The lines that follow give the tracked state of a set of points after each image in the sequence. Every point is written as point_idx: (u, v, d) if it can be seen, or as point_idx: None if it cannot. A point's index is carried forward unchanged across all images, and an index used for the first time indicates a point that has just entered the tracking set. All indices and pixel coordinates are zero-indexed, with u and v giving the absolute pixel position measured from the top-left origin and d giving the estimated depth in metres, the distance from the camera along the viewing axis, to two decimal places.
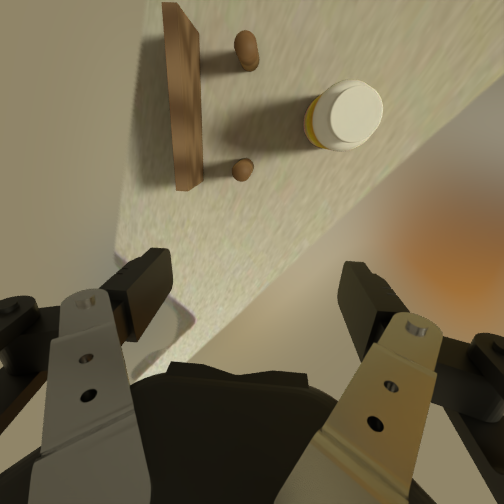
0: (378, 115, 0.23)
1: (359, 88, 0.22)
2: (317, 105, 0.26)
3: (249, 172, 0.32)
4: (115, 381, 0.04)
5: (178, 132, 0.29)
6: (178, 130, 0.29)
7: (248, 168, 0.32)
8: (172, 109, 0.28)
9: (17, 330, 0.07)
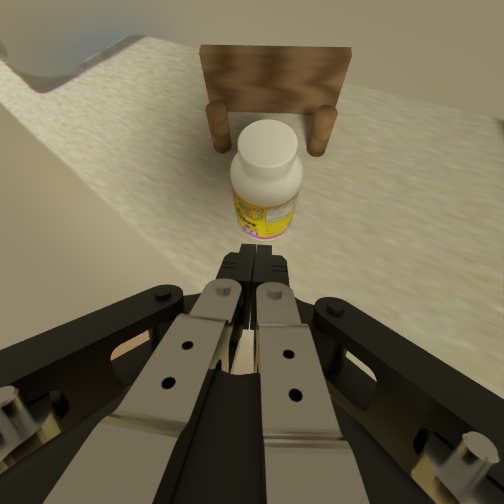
0: (266, 162, 0.19)
1: (293, 140, 0.19)
2: None
3: (214, 115, 0.29)
4: (191, 383, 0.04)
5: (255, 50, 0.30)
6: (257, 50, 0.30)
7: (218, 114, 0.29)
8: (274, 47, 0.30)
9: (177, 314, 0.07)
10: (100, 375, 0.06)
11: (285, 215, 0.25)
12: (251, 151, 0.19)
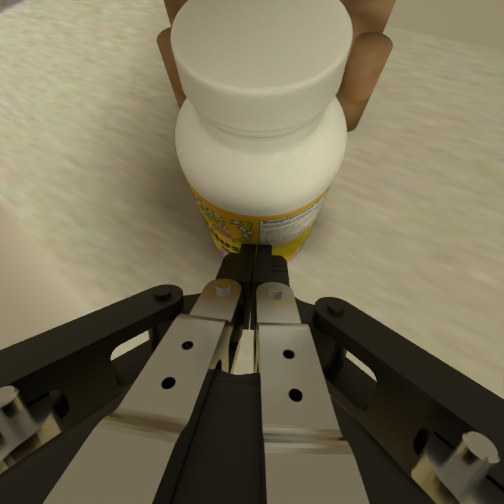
0: (256, 80, 0.06)
1: (340, 20, 0.06)
2: None
3: (171, 48, 0.16)
4: (191, 383, 0.05)
5: None
6: None
7: None
8: None
9: (177, 314, 0.07)
10: (100, 375, 0.06)
11: (299, 233, 0.12)
12: (209, 49, 0.06)
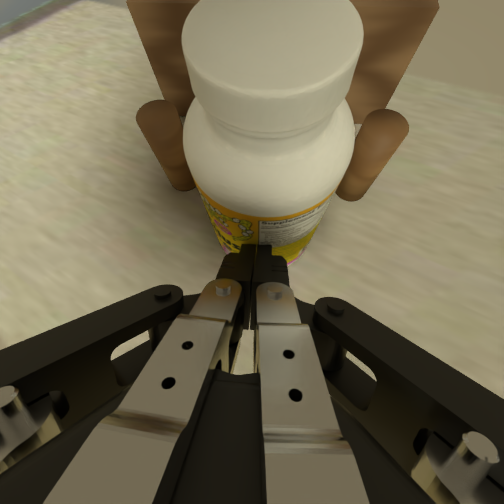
0: (259, 81, 0.06)
1: (352, 27, 0.06)
2: None
3: (152, 129, 0.14)
4: (191, 383, 0.05)
5: None
6: None
7: (161, 127, 0.14)
8: None
9: (177, 314, 0.07)
10: (100, 375, 0.06)
11: (299, 236, 0.12)
12: (218, 48, 0.06)
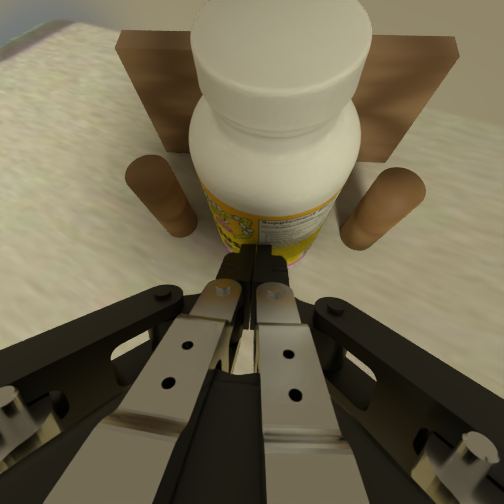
0: (263, 79, 0.06)
1: (360, 29, 0.06)
2: None
3: (142, 190, 0.13)
4: (191, 383, 0.05)
5: None
6: None
7: (152, 188, 0.13)
8: None
9: (177, 314, 0.07)
10: (100, 375, 0.06)
11: (300, 238, 0.12)
12: (225, 44, 0.06)
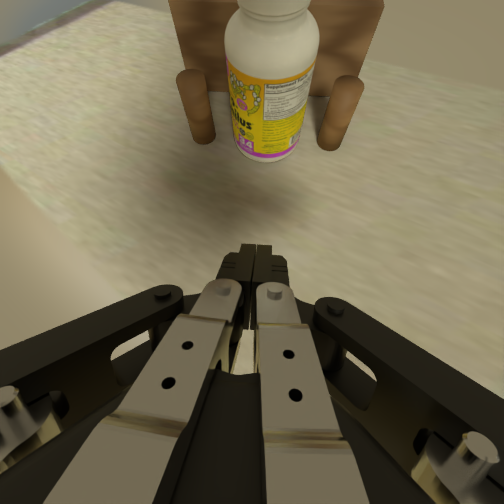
0: None
1: None
2: None
3: (188, 87, 0.20)
4: (191, 383, 0.05)
5: None
6: None
7: (194, 86, 0.20)
8: None
9: (177, 315, 0.07)
10: (100, 375, 0.06)
11: (288, 112, 0.20)
12: None
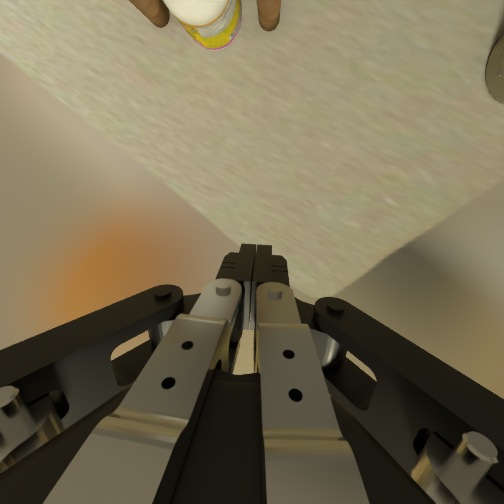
0: None
1: None
2: None
3: (136, 2, 0.25)
4: (191, 383, 0.05)
5: None
6: None
7: (141, 0, 0.25)
8: None
9: (177, 314, 0.07)
10: (100, 375, 0.06)
11: (220, 31, 0.25)
12: None
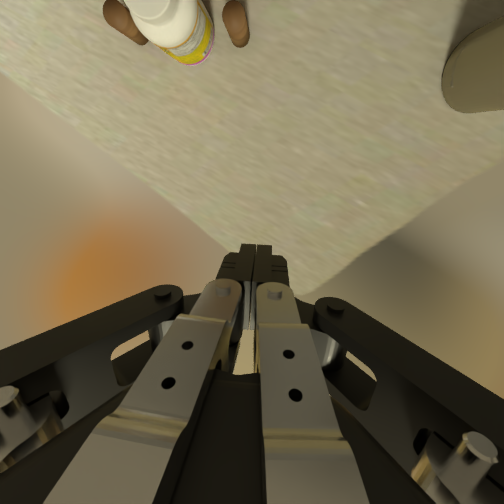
0: (145, 13, 0.22)
1: None
2: None
3: (115, 25, 0.28)
4: (191, 383, 0.05)
5: None
6: None
7: (119, 24, 0.27)
8: None
9: (177, 314, 0.07)
10: (100, 375, 0.06)
11: (191, 50, 0.28)
12: None
